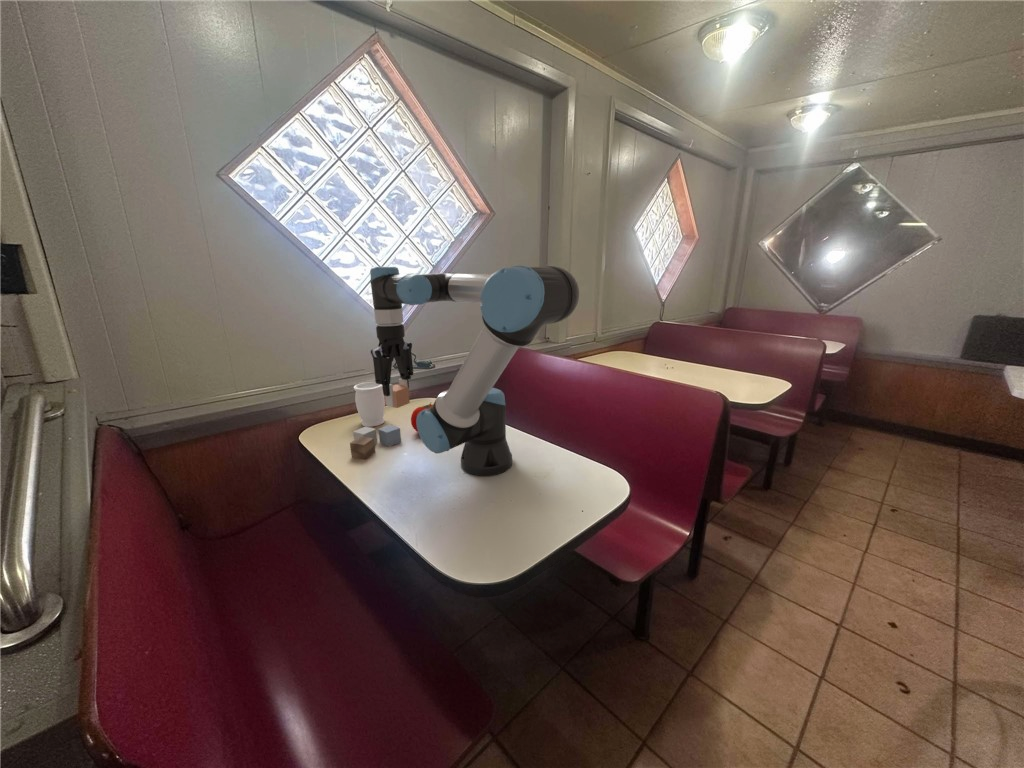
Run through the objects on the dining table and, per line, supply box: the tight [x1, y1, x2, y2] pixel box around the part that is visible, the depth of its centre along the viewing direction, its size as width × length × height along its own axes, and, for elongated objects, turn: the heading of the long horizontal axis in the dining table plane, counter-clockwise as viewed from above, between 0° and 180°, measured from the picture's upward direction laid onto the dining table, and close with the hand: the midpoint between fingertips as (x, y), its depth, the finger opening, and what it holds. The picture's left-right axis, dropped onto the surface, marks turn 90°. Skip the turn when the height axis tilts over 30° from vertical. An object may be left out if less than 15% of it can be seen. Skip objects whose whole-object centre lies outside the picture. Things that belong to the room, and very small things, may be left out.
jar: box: [353, 381, 386, 428], centre depth 148 cm, size 11×10×15 cm
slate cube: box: [377, 424, 402, 447], centre depth 132 cm, size 5×5×5 cm
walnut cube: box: [349, 437, 376, 461], centre depth 123 cm, size 5×5×5 cm
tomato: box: [410, 402, 433, 433], centre depth 139 cm, size 11×13×10 cm
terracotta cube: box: [384, 384, 411, 409], centre depth 117 cm, size 5×5×5 cm
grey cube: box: [352, 426, 378, 445], centre depth 131 cm, size 5×5×5 cm
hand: (397, 402), depth 117 cm, fingers closed on terracotta cube, 5 cm apart
